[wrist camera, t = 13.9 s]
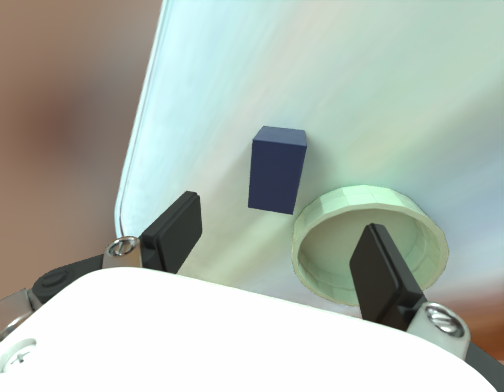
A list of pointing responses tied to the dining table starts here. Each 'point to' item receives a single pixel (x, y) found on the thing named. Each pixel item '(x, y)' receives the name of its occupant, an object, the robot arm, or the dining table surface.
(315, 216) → the bowl
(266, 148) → the navy blue block
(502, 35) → the dining table surface
